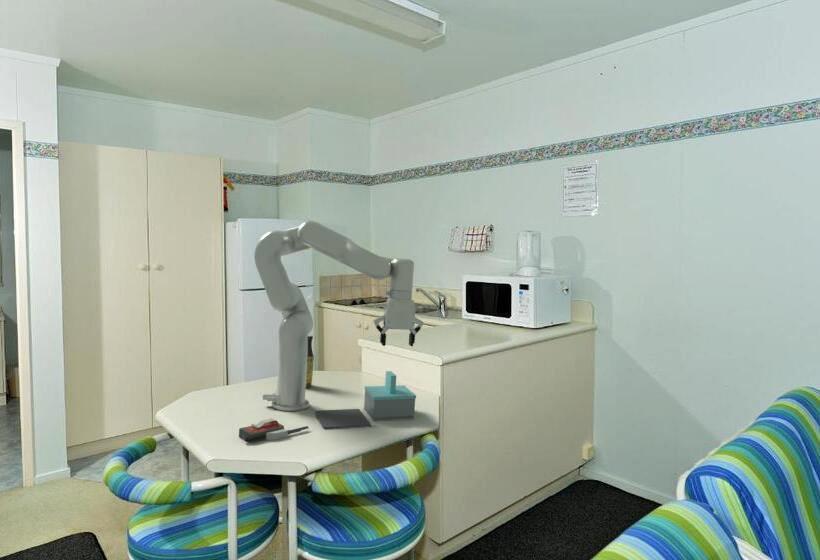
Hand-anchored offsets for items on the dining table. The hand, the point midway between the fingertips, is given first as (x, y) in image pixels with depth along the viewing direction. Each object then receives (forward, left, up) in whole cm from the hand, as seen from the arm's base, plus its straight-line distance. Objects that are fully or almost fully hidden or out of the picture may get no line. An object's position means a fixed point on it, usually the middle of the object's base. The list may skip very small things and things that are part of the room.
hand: (397, 345), depth 183 cm
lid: (-2, -2, -18) cm, 18 cm away
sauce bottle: (-25, +35, -23) cm, 49 cm away
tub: (-2, -2, -23) cm, 23 cm away
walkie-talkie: (-41, -15, -24) cm, 50 cm away
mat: (-19, -5, -23) cm, 30 cm away
